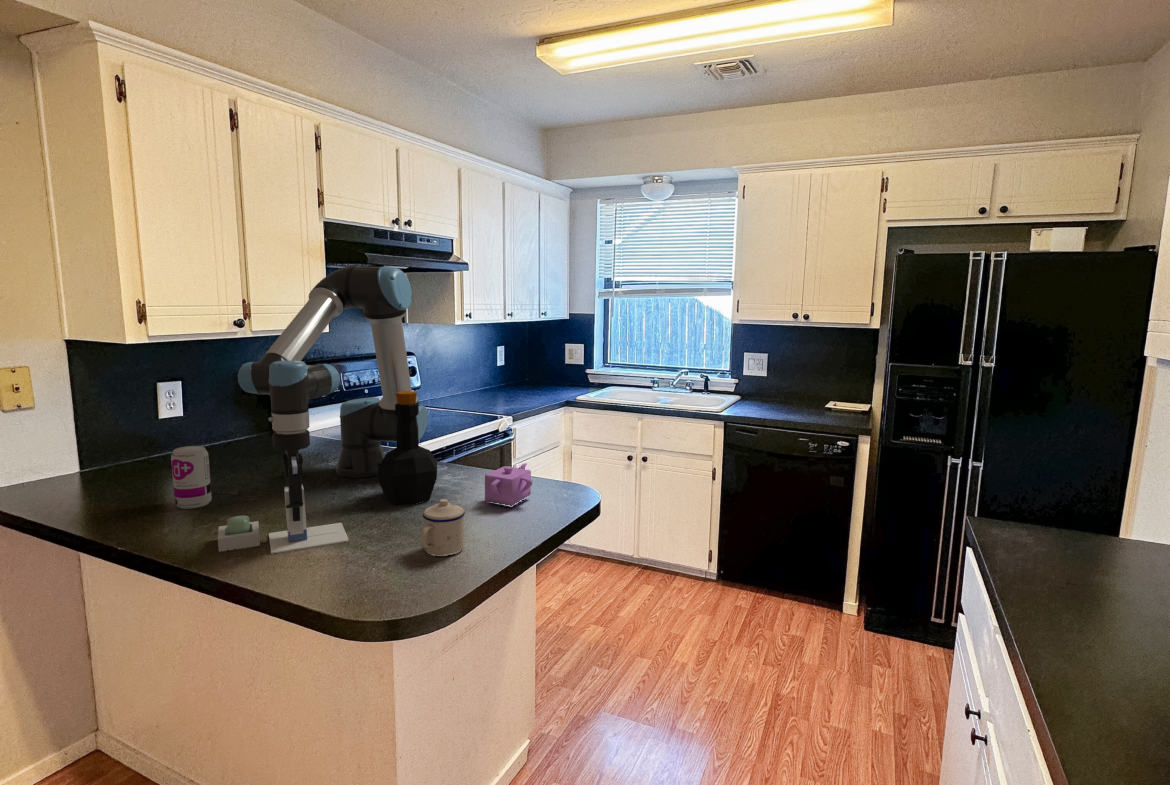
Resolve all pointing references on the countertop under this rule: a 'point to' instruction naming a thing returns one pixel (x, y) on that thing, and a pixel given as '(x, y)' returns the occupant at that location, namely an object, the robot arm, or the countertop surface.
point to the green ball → (238, 525)
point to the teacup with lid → (443, 528)
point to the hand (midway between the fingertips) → (296, 529)
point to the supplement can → (191, 477)
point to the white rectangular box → (290, 537)
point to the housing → (238, 538)
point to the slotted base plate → (309, 538)
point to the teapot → (508, 485)
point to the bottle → (407, 458)
